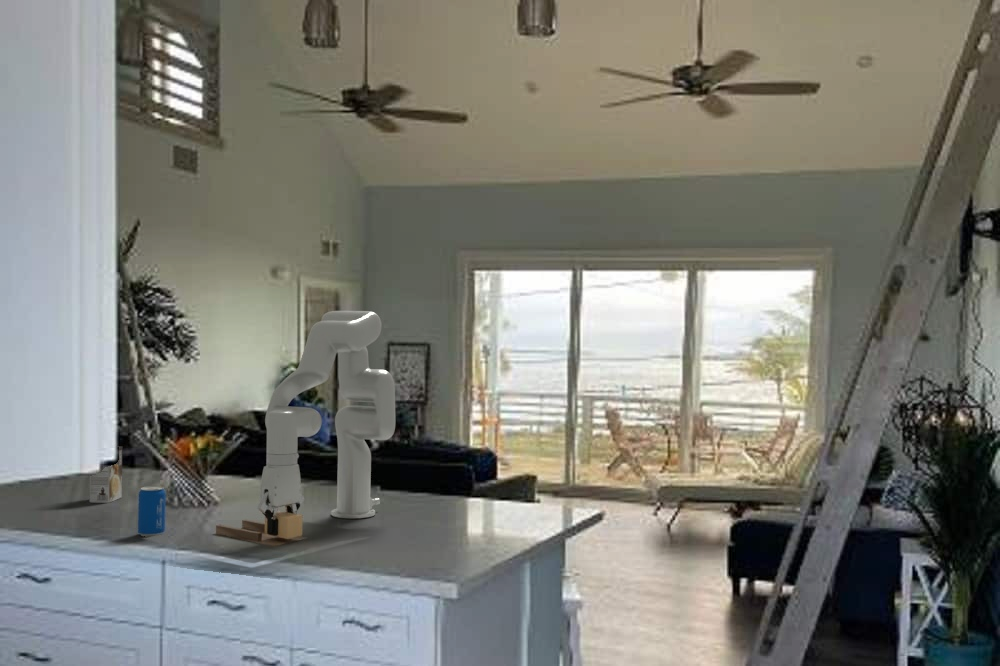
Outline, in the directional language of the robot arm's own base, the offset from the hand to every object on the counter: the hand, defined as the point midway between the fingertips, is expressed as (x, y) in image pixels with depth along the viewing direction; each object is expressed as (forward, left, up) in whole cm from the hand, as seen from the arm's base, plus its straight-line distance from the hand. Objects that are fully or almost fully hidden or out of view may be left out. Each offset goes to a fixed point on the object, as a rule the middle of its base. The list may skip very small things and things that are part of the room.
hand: (281, 531), depth 236 cm
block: (0, +1, -1) cm, 1 cm away
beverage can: (+13, -33, -3) cm, 36 cm away
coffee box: (-9, -85, -3) cm, 85 cm away
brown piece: (0, -7, -3) cm, 8 cm away
